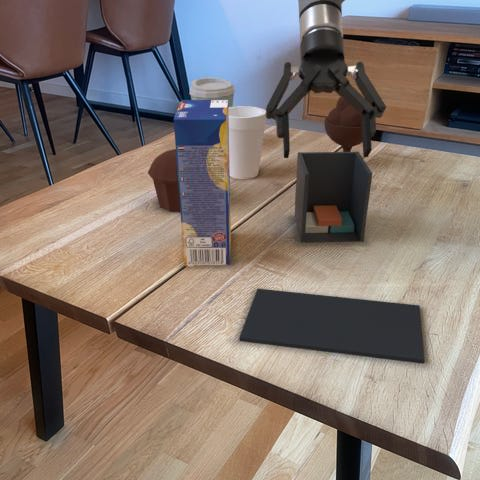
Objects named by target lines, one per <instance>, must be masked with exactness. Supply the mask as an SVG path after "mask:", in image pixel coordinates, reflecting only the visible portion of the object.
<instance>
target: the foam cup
mask: <svg viewBox="0 0 480 480" xmlns="http://www.w3.org/2000/svg"><path fill="white" fill-rule="evenodd" d="M228 119H229V168H230V178H233V179H236V180H248V179H254V178H256V177H257V176H258V175H259V173H260V164H261V158H262V150H263V145H264V137H265V130H266V125H267V118H266V109H264V108H261V107H258V106H251V105H250V106H249V105H243V106H238V105H237V106H233V107H229V108H228Z"/></svg>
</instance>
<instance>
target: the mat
mask: <svg viewBox="0 0 480 480" xmlns="http://www.w3.org/2000/svg"><path fill="white" fill-rule="evenodd" d="M420 307H421V306H420V305H419V304H411V303H400V302H391V301H381V300H371V299H361V298H353V297H343V296H335V295H334V296H332V295H322V294H316V293H315V294H313V293H303V292H295V291H286V290H285V291H284V290H276V289H275V290H274V289H265V288H257V289H256V292H255V293H254V297H253V300H252V302H251V305H250V308H249V311H248V313H247V316H246V319H245V322H244V324H243V327H242V330H241V332H240V335H239V339H238V340H239V342H244V343H252V344H260V345H269V346H275V347H285V348H294V349H302V350H308V351H309V350H310V351H316V352H317V351H318V352H325V353H334V354H342V355H349V356H358V357H367V358H374V359H375V358H376V359H384V360H389V361H399V362H407V363H417V364H425V362H426V361H425V359H426V358H425V350H424V349H425V348H424V339H423V329H422V318H421V308H420Z"/></svg>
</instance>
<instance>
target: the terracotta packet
mask: <svg viewBox="0 0 480 480" xmlns="http://www.w3.org/2000/svg"><path fill="white" fill-rule="evenodd" d="M313 213H314V216H315V219H316V222H317V225H318V226H341V225H342V218H341V216H340V213H339V211H338V209H337V206H336V205H332V206H313Z"/></svg>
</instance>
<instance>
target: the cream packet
mask: <svg viewBox="0 0 480 480" xmlns="http://www.w3.org/2000/svg"><path fill="white" fill-rule="evenodd" d="M305 233H328V226H318V225H317V222H316V219H315V216H314V213H313V212H307V214H306V230H305Z"/></svg>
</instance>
